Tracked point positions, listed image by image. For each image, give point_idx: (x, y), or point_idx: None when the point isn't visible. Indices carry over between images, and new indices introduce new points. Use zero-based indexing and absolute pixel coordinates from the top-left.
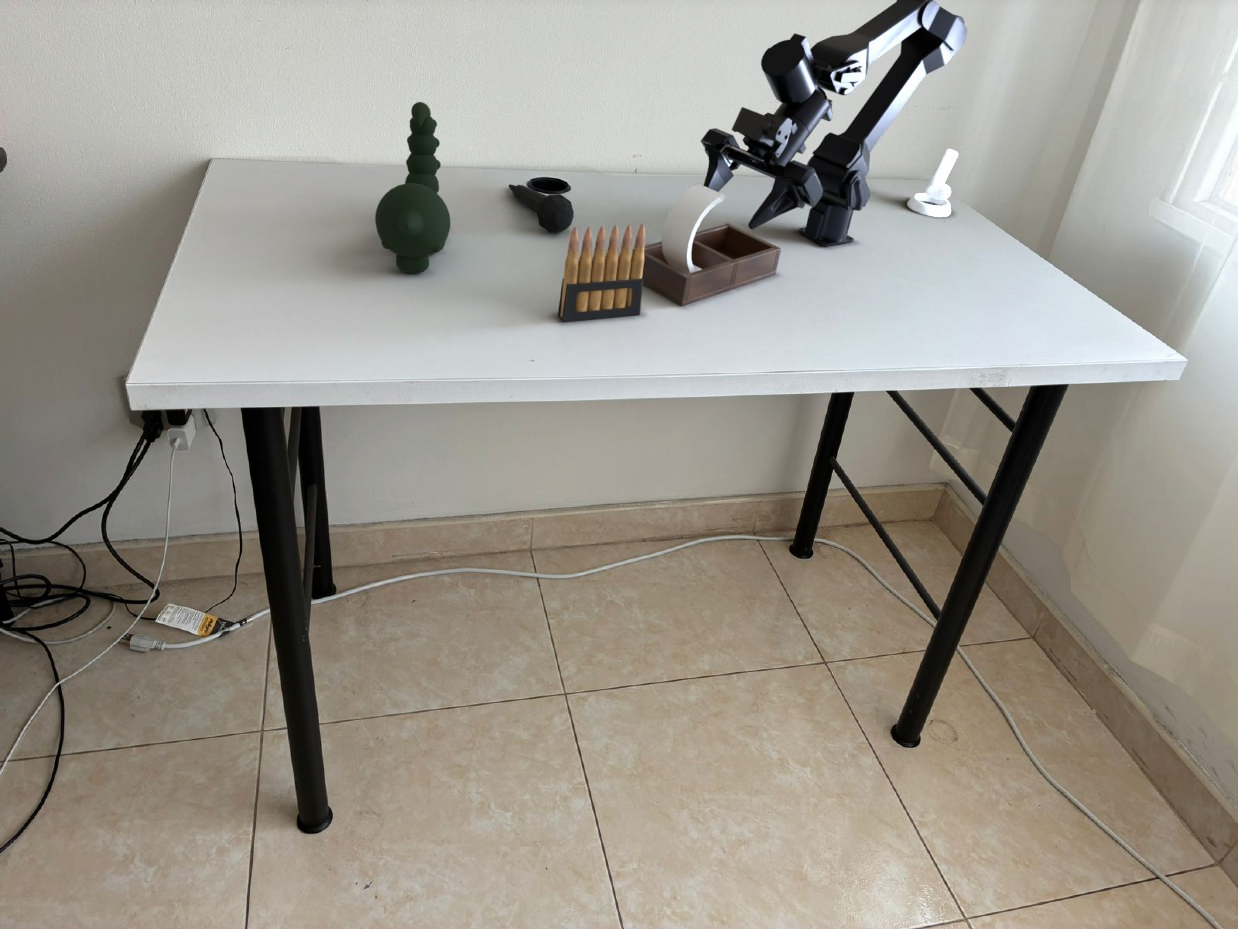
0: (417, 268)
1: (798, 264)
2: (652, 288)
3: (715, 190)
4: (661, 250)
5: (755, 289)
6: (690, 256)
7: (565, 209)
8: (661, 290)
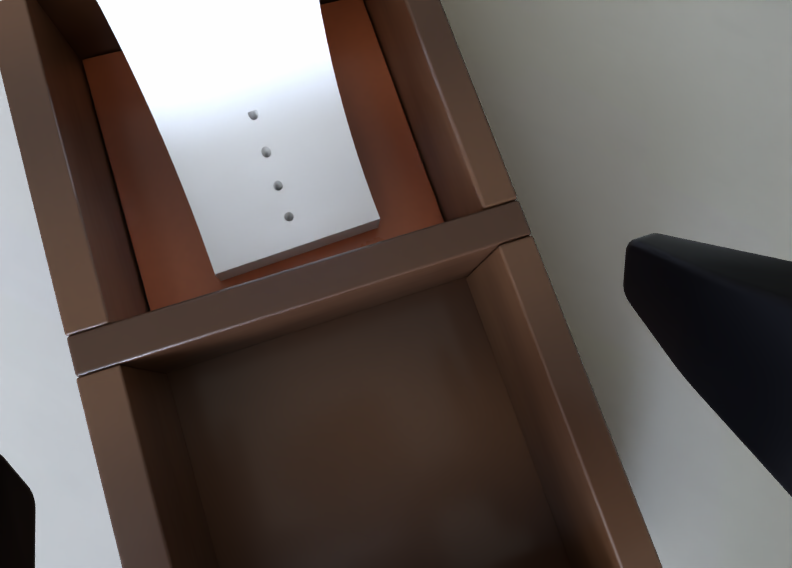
0: None
1: None
2: None
3: (786, 445)
4: (413, 60)
5: (105, 515)
6: (105, 13)
7: None
8: None
